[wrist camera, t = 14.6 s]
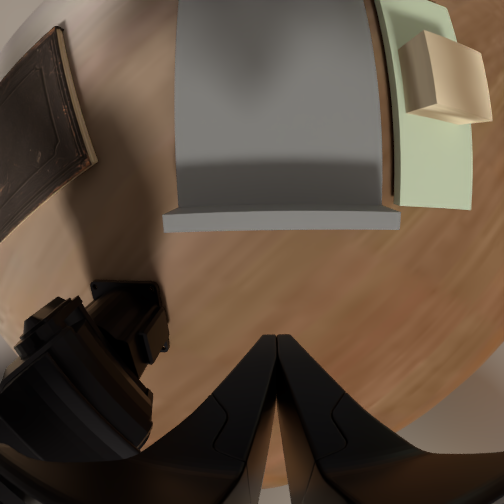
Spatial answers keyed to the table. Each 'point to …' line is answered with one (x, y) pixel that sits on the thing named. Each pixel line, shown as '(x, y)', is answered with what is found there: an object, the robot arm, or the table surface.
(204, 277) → the table surface
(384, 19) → the panel
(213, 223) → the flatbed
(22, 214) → the hardcover book
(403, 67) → the beech block
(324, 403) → the robot arm
